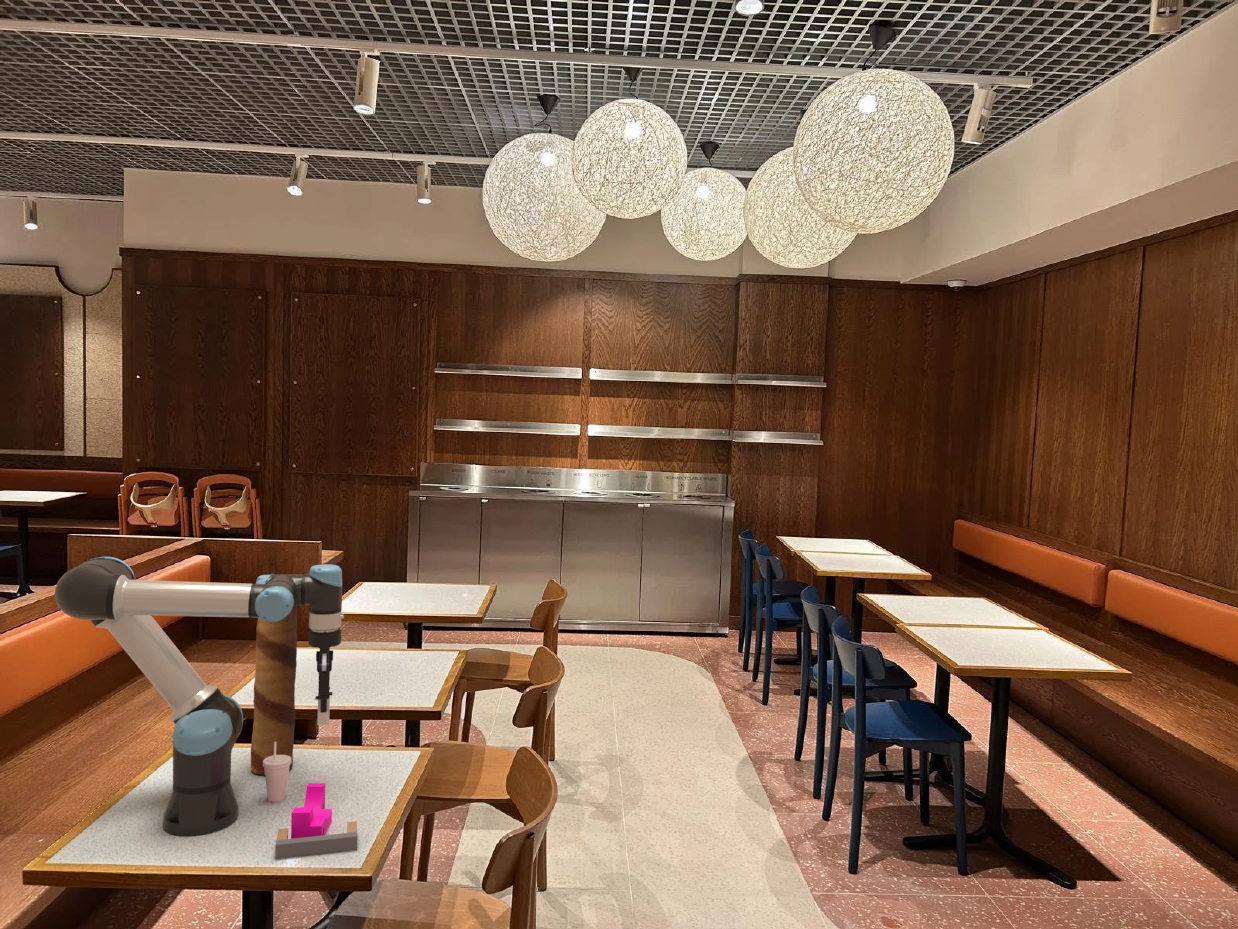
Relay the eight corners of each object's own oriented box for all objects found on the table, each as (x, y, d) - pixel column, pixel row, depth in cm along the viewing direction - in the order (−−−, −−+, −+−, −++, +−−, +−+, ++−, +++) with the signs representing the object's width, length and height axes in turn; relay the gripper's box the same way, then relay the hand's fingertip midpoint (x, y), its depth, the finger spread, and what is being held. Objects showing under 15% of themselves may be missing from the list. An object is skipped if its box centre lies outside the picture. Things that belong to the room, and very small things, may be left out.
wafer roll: (302, 762, 224) (305, 593, 222) (283, 778, 214) (287, 601, 212) (263, 759, 225) (267, 591, 223) (243, 775, 215) (246, 599, 212)
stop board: (275, 861, 174) (275, 845, 174) (277, 845, 181) (278, 829, 181) (356, 852, 179) (357, 836, 179) (356, 837, 186) (356, 821, 186)
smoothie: (263, 795, 204) (264, 737, 203) (291, 792, 206) (292, 735, 205) (260, 807, 198) (261, 747, 197) (290, 804, 200) (291, 745, 199)
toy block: (321, 847, 181) (321, 812, 181) (290, 847, 181) (291, 813, 180) (335, 814, 196) (336, 782, 196) (307, 815, 195) (308, 783, 195)
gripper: (341, 634, 202) (339, 732, 204) (341, 621, 215) (339, 713, 216) (307, 636, 200) (305, 734, 201) (310, 623, 213) (308, 715, 214)
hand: (323, 723), depth 209 cm, fingers closed
